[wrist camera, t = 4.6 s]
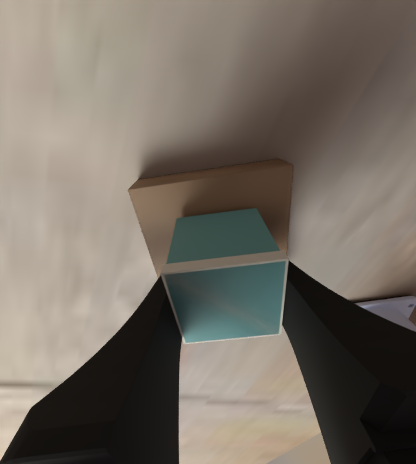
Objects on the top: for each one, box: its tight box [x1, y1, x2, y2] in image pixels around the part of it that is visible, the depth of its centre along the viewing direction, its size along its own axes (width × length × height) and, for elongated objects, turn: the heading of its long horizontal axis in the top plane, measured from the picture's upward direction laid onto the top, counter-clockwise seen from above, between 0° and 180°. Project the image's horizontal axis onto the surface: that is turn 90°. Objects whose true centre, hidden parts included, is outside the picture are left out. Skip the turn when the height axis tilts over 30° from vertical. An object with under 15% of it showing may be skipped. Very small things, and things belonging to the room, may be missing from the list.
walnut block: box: [128, 159, 293, 278], centre depth 14 cm, size 9×9×2 cm
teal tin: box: [160, 208, 289, 344], centre depth 10 cm, size 5×5×5 cm
